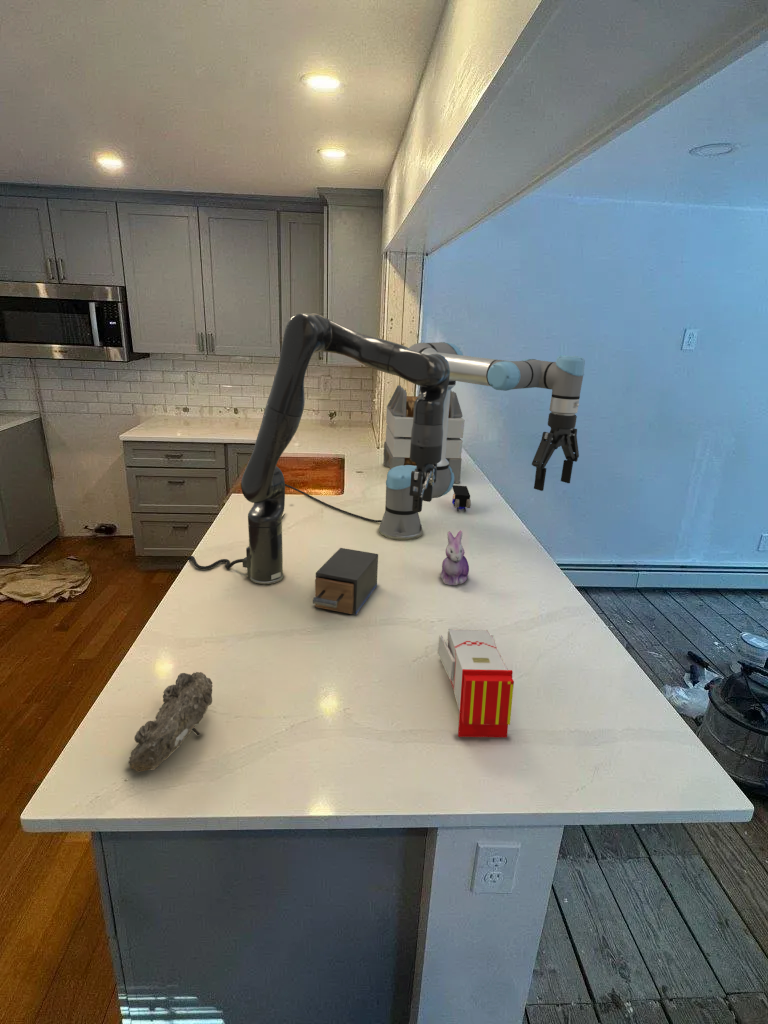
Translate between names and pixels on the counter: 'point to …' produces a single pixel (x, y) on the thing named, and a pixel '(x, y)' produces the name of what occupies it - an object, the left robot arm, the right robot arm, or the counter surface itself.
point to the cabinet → (353, 572)
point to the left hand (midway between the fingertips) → (422, 506)
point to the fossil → (172, 721)
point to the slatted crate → (401, 427)
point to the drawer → (334, 595)
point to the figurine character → (461, 497)
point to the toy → (478, 682)
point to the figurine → (454, 561)
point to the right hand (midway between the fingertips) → (552, 485)
